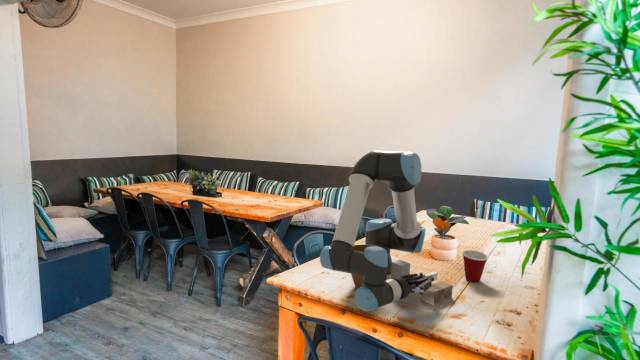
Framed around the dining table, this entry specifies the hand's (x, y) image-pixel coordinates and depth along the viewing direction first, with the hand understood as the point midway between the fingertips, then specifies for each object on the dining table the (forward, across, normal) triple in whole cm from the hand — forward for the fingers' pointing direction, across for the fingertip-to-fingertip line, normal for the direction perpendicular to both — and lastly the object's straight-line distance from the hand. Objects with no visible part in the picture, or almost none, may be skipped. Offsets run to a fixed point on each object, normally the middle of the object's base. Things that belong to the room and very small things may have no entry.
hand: (435, 275), depth 137 cm
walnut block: (-4, 0, -7) cm, 8 cm away
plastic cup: (+32, -2, -10) cm, 34 cm away
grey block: (-6, -12, -10) cm, 16 cm away
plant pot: (-15, -22, -10) cm, 29 cm away
